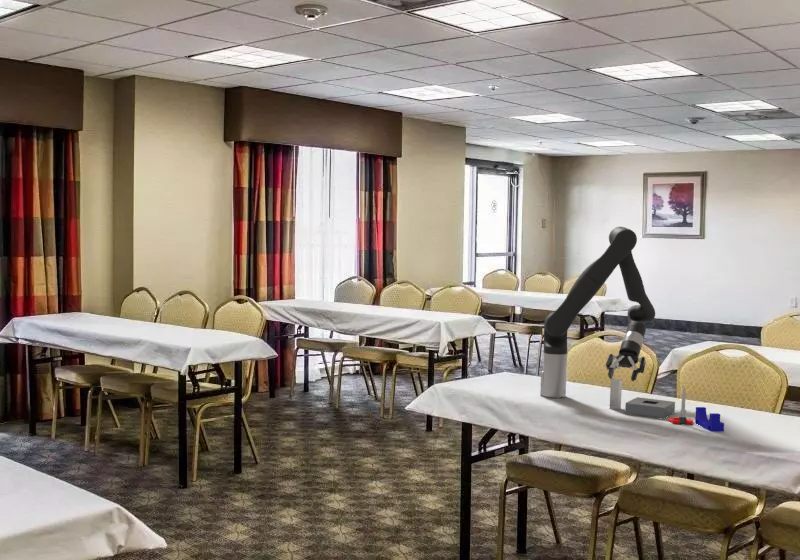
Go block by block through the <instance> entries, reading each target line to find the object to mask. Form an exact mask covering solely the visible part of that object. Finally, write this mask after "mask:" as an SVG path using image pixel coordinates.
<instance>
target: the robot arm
mask: <svg viewBox="0 0 800 560" xmlns="http://www.w3.org/2000/svg"><path fill="white" fill-rule="evenodd" d="M608 241H609V245H608V247H607V248H606V250H605V251H604V253H603V254H601V256H599V258H597V259H596V260H595V261H592V263H590V264H589V265H588V266H587V267H586V268H585V269H584V270H583V271H582V272H581V274H579V276H578V277H577V279H576V280H575V281H574V283H573V285H572V286H571V288H570V290H569V292H568V294H567V295H566V297H565V299H564V301H562V303H561V304H560V305H559V306H558V307H557V308H556V310H555V311H554V312H551V313H549V314H548V315H546V317H545V318H544V323H543V325H544V326H543V361H542V362H543V365H542V371H541V372H540V389H539V390H540V392H539V393H540V396H543V397H545V398H551V399H552V398H554V399H555V398H557V399H558V398H559V399H560V398H561V397H562V398H566V397H565V396H567V394H566V393H567V392H566V391H567V369H568V368H567V367H568V330H569V329H570V327H571V325H572V323H573V322H574V321H575V319H576V318H577V316H578V315H579V314H580V312H581V311H582V310H583V309H584V308H585V307H586V306H587V305H588V304H589V302H590V301H591V300H592V299H593V298H594V297H595V295H596V294H597V293H598V292H599V291H600V290H601V288H602V287H603V285H604V284H605V282H606V281H607V280H608V279H609V277H610V276H611V274H613V272H614V271H615V269H616V268H617V267H619V269H620V272H621V276H622V281H623V284H624V288H625V291H626V295H627V299H628V300H629V301H630V302H634V303H637V304H636V305H632V306H630V307H628V309H627V328H626V331H625V334H624V335H623V338H622V341H621V344H620V348H619V351H618V354H617V355H613V353H610V354H609V355H608V358H607V360H606V363H605V367H606V370H608V373H607V376H608V378H609V380H611V379H613V377H614V373H615V371H616V370H617V369H618V370H619V369H620V368H629V369H630V368H631V369H632V372H631V376H630V377H631V378H630V380H631V382H635V381H637V379H638V374H644V372H645V368H646V364H647V361H646V360H647V359H646V358H645V357H644V356H642V357H640V354H641V353H640V352H641V350H642V348H643V344H644V343H643V341H644V338H645V334H646V332H647V331H646V330H647V328H646V325H645V324H644V323H650V322H652V321H655V317H656V310H655V308H654V306H653V304H652V302H651V300H650V299H649V297H648V295H647V293H646V290H645V286H644V282H643V279H642V276H641V273H640V271H639V269H638V267H637V264H636V263H635V258H634V257H633V256H634V255H633V250H634V248H635V246H636V245H637V241H638V238H637V234H636V233H635V231H633V230H632V229H631V228H627V227H624V226H616V227H614V228H613V229H611V230H610V233H609V234H608ZM638 363H639V367H637V364H638Z"/></svg>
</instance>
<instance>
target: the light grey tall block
mask: <svg viewBox="0 0 800 560" xmlns="http://www.w3.org/2000/svg"><path fill="white" fill-rule="evenodd" d="M622 385H623V380H622V379H621V378H613V377H612V379H610V391H609V393H610V394H609V395H610V396H609V410H616V411H617V410H620V409H622V387H623V386H622Z"/></svg>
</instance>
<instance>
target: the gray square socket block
mask: <svg viewBox="0 0 800 560" xmlns="http://www.w3.org/2000/svg"><path fill="white" fill-rule="evenodd" d="M674 412H675V413H676V401H670V400H664V399H663V400H662V399H653V398H646V397H639V396H638V397H635V398H632V399H631V400H628V401H627V402H625V408H624V414H626V415H630V414H631V415H632V416H637V415H639V416H640V417H645V416H646V417H645V418H652V417H655V419H660V418H662V419H661V420H665V419H667V418H668V417H670V416H671V414H672V413H673V414H675V413H674ZM673 414H672V415H673ZM669 415H670V416H669ZM639 416H638V417H639ZM667 416H668V417H667ZM666 417H667V418H666ZM664 418H665V419H664Z"/></svg>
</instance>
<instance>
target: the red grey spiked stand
mask: <svg viewBox="0 0 800 560" xmlns="http://www.w3.org/2000/svg"><path fill="white" fill-rule="evenodd" d="M686 395H687V393H686V387H685V386H683V387H682V393H681V406H680V407H681V408H680V412H679V413H680V416H679V417H677V416H675V417H673V416H672V417H670V416H669V417H667V421H668V422H670V423H672V424H673V425H681V424H685V425H684V426H686V425H687V426H689V425H690V426H693V424H694V419H691V418H687V417H686V397H687V396H686Z"/></svg>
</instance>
